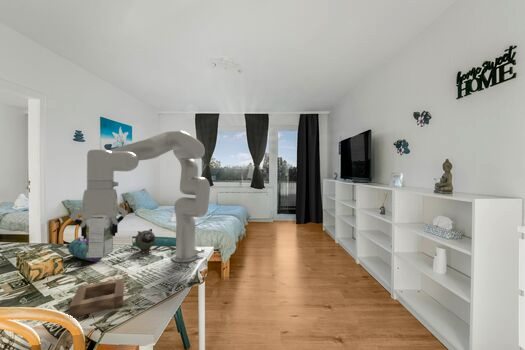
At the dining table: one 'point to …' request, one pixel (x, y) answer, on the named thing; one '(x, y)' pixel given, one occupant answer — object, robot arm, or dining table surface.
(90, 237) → the syrup box
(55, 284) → the dining table surface
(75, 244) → the pencil case
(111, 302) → the walnut collar
